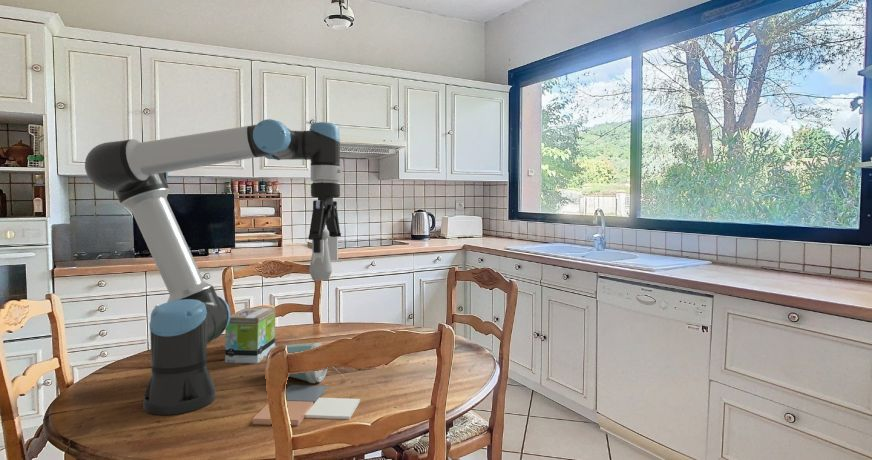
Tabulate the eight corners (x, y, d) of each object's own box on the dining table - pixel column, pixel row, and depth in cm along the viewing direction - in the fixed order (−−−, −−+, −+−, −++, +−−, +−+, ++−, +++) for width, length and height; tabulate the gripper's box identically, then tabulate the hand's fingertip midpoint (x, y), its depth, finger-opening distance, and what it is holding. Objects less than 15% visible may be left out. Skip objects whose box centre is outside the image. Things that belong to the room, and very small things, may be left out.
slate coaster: (274, 404, 118) (274, 399, 118) (290, 389, 128) (290, 384, 128) (315, 406, 117) (315, 401, 117) (328, 390, 127) (328, 386, 127)
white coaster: (304, 420, 109) (304, 414, 109) (319, 402, 119) (319, 397, 119) (349, 421, 109) (349, 416, 109) (360, 403, 119) (360, 398, 119)
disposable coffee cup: (272, 331, 134) (322, 335, 131) (287, 351, 142) (335, 355, 138) (255, 367, 127) (308, 372, 124) (272, 386, 135) (323, 391, 131)
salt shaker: (325, 281, 124) (325, 229, 123) (304, 280, 125) (304, 229, 125) (336, 278, 129) (336, 229, 129) (316, 278, 131) (316, 228, 130)
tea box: (258, 368, 144) (258, 317, 143) (224, 367, 144) (223, 317, 143) (276, 352, 159) (275, 307, 158) (244, 352, 159) (244, 306, 158)
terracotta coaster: (252, 424, 106) (252, 418, 106) (271, 405, 116) (271, 400, 116) (298, 425, 105) (298, 419, 105) (313, 406, 115) (313, 401, 115)
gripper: (325, 179, 118) (326, 268, 119) (350, 184, 143) (350, 258, 144) (295, 179, 119) (295, 268, 120) (325, 184, 144) (325, 257, 145)
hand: (325, 262), depth 132 cm, fingers open, 13 cm apart
